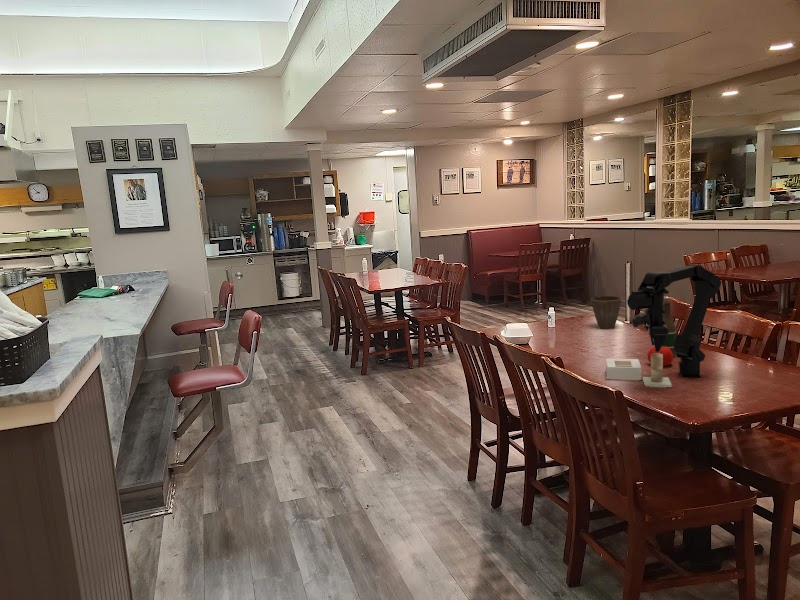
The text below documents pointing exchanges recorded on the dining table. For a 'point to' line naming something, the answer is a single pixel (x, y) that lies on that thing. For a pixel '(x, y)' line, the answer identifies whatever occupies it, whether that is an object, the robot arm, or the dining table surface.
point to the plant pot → (606, 310)
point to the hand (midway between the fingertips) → (655, 348)
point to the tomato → (666, 355)
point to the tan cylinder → (656, 367)
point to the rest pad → (664, 383)
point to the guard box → (623, 369)
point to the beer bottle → (669, 328)
